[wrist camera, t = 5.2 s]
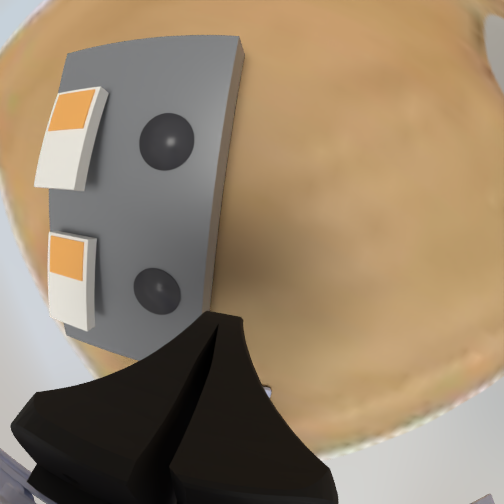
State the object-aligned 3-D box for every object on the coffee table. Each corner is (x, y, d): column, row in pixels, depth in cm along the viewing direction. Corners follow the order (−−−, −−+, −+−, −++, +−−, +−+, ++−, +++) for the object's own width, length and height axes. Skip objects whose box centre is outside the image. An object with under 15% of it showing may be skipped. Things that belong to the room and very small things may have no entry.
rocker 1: (84, 191, 13) (72, 189, 12) (43, 188, 13) (32, 186, 12) (108, 92, 13) (99, 85, 12) (66, 98, 13) (57, 92, 12)
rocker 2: (94, 326, 16) (86, 332, 15) (57, 312, 16) (48, 317, 15) (96, 238, 15) (87, 239, 14) (58, 230, 16) (48, 231, 14)
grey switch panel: (206, 351, 22) (197, 377, 19) (83, 318, 22) (65, 336, 19) (244, 54, 14) (238, 35, 11) (90, 62, 15) (66, 53, 12)
